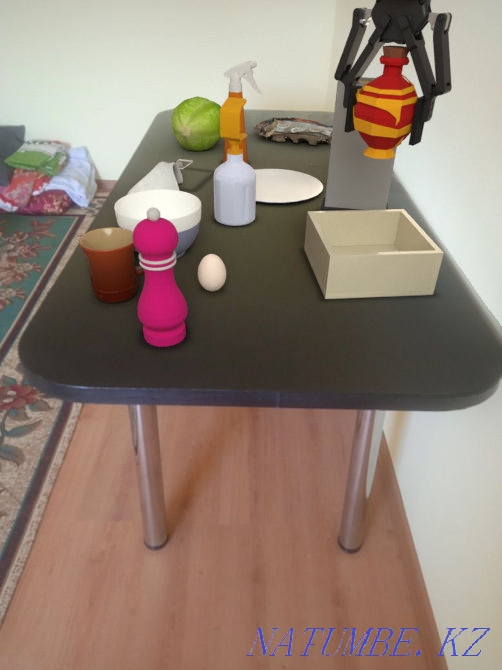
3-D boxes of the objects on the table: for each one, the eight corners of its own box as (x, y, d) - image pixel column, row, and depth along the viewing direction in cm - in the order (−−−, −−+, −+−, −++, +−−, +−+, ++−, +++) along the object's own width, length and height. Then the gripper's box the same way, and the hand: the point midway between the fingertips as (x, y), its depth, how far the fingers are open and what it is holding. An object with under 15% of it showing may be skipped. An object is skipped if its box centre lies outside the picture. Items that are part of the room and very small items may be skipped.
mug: (92, 312, 82) (81, 253, 77) (86, 286, 89) (76, 230, 83) (166, 299, 86) (161, 243, 80) (155, 275, 93) (150, 222, 87)
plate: (210, 178, 136) (210, 174, 136) (294, 168, 145) (295, 164, 144) (247, 212, 118) (247, 207, 117) (341, 198, 126) (342, 193, 125)
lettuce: (215, 157, 148) (165, 159, 153) (238, 138, 166) (193, 140, 171) (207, 103, 140) (155, 107, 145) (232, 88, 158) (185, 92, 163)
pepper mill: (136, 326, 79) (119, 201, 68) (182, 318, 81) (173, 195, 70) (145, 353, 74) (129, 222, 62) (194, 343, 76) (187, 214, 64)
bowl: (120, 273, 93) (113, 223, 88) (120, 236, 106) (114, 191, 100) (208, 266, 96) (206, 217, 90) (198, 231, 108) (196, 187, 103)
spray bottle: (255, 169, 143) (258, 63, 128) (219, 165, 146) (217, 60, 131) (263, 162, 149) (266, 59, 134) (227, 158, 151) (227, 57, 136)
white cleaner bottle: (260, 214, 117) (264, 97, 103) (246, 229, 110) (248, 105, 96) (224, 208, 119) (222, 93, 105) (208, 223, 112) (204, 101, 98)
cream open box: (433, 294, 89) (443, 252, 84) (325, 299, 87) (330, 256, 82) (396, 246, 104) (403, 209, 100) (304, 249, 102) (307, 211, 98)
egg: (232, 290, 89) (232, 255, 85) (210, 300, 86) (209, 264, 82) (214, 280, 92) (213, 245, 88) (192, 289, 89) (190, 254, 85)
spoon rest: (173, 222, 112) (171, 190, 108) (121, 218, 113) (116, 187, 109) (196, 184, 131) (194, 155, 127) (151, 181, 132) (148, 153, 128)
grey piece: (245, 142, 165) (246, 125, 162) (262, 127, 182) (262, 110, 179) (339, 151, 159) (341, 133, 156) (347, 134, 176) (349, 117, 173)
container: (323, 217, 122) (311, 79, 106) (404, 211, 118) (405, 65, 101) (321, 230, 116) (308, 85, 100) (406, 224, 112) (408, 71, 95)
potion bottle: (420, 151, 84) (442, 46, 75) (399, 168, 76) (420, 54, 68) (360, 141, 88) (373, 41, 79) (335, 156, 81) (347, 47, 72)
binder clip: (183, 183, 133) (182, 161, 130) (169, 181, 134) (168, 160, 131) (193, 175, 138) (192, 155, 135) (179, 174, 139) (178, 153, 136)
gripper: (320, -39, 71) (307, 128, 84) (487, -38, 60) (442, 156, 73) (347, -38, 76) (331, 120, 89) (507, -36, 65) (462, 145, 77)
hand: (381, 136), depth 81 cm, fingers closed on potion bottle, 10 cm apart
